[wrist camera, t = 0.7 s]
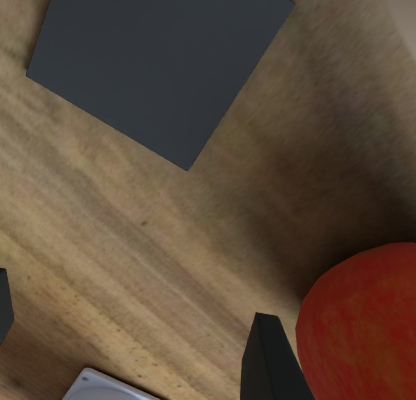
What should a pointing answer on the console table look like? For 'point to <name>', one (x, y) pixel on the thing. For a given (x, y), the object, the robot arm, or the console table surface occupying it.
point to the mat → (155, 63)
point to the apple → (362, 327)
